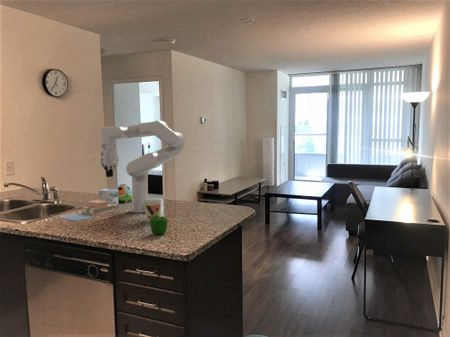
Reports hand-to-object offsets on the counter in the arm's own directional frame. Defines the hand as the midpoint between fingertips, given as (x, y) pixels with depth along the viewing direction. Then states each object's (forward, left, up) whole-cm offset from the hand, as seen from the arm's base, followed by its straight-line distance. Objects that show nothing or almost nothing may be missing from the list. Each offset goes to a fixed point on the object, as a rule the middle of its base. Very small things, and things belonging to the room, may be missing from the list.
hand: (109, 176), depth 240 cm
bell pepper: (-64, +23, -21) cm, 71 cm away
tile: (0, +10, -17) cm, 20 cm away
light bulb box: (+13, -9, -21) cm, 27 cm away
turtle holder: (+17, -25, -21) cm, 37 cm away
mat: (0, +24, -21) cm, 32 cm away
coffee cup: (-42, +5, -21) cm, 47 cm away
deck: (0, +9, -21) cm, 23 cm away
